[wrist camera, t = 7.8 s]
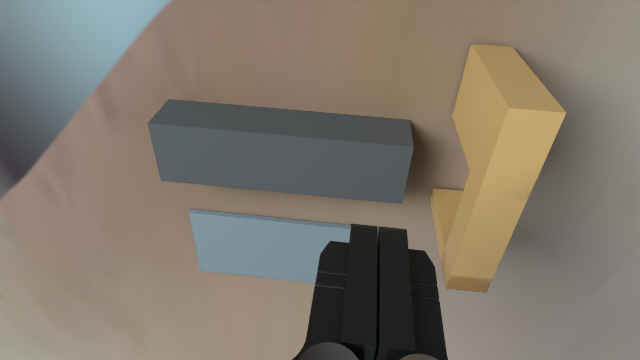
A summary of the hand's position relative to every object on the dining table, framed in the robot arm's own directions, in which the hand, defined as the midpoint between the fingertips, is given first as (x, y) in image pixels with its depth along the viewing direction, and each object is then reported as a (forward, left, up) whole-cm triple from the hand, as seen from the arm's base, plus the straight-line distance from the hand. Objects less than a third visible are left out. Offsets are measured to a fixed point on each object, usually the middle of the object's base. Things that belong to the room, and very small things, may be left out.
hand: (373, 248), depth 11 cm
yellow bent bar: (-6, +3, -13) cm, 14 cm away
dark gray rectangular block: (+5, +5, -13) cm, 15 cm away
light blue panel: (+4, +14, -13) cm, 20 cm away
